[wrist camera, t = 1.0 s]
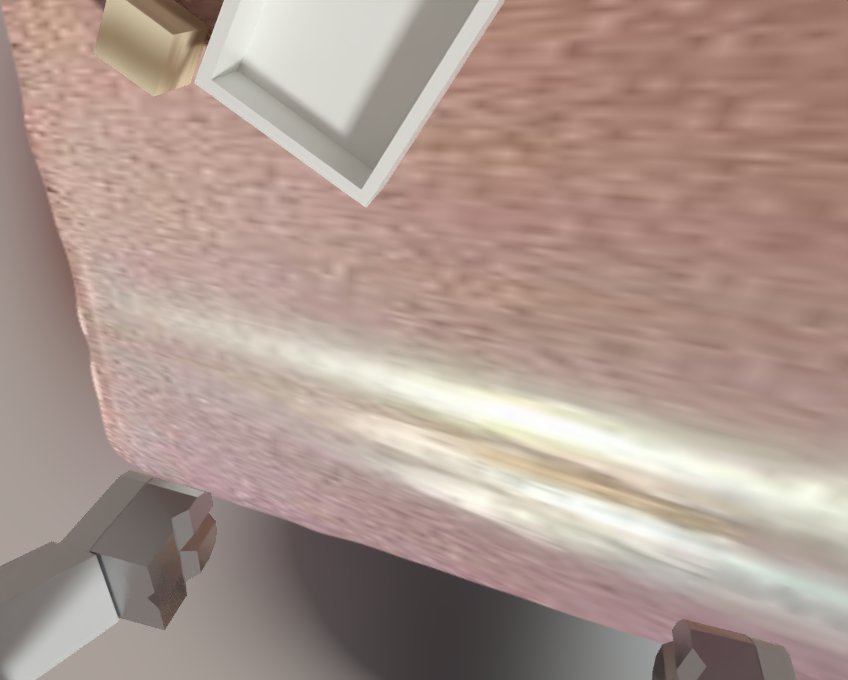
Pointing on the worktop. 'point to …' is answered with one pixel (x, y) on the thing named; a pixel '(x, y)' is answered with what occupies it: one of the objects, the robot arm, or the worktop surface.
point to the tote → (341, 76)
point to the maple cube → (151, 42)
